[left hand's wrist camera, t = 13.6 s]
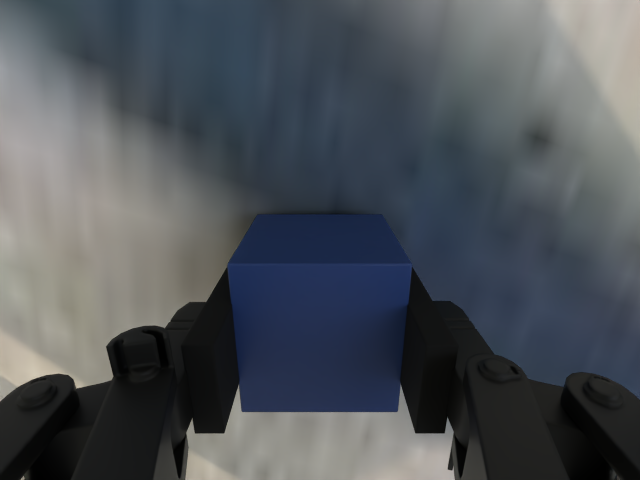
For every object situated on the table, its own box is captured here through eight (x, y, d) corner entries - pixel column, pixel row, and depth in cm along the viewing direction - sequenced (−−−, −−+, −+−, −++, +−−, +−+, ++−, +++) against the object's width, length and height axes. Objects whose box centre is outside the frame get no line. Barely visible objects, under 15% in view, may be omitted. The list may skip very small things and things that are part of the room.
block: (382, 213, 14) (412, 263, 9) (375, 325, 16) (398, 412, 11) (257, 214, 14) (226, 263, 9) (264, 325, 16) (241, 413, 11)
